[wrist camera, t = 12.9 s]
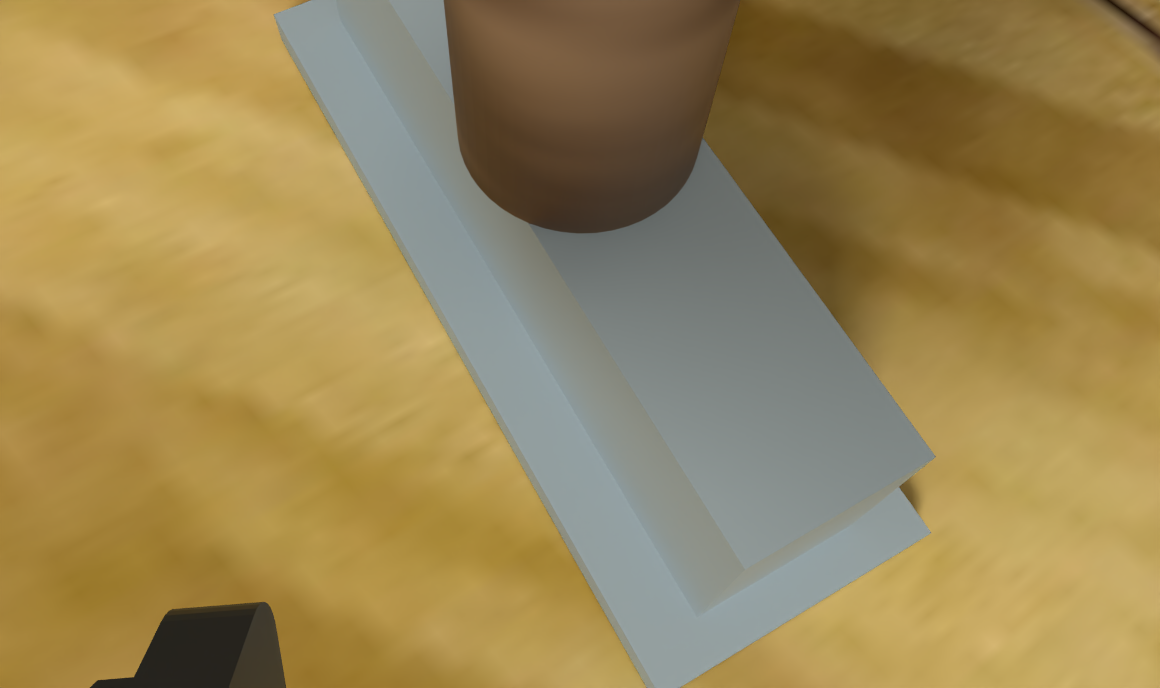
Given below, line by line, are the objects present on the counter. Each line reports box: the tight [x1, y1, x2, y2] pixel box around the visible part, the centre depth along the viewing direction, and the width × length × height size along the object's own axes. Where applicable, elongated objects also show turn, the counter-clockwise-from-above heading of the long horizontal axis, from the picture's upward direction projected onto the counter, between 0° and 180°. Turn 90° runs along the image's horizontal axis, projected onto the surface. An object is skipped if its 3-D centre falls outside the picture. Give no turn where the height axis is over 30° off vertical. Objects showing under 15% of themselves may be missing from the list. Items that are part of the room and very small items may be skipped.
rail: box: [274, 0, 935, 688], centre depth 22 cm, size 20×7×6 cm, turn 30°
